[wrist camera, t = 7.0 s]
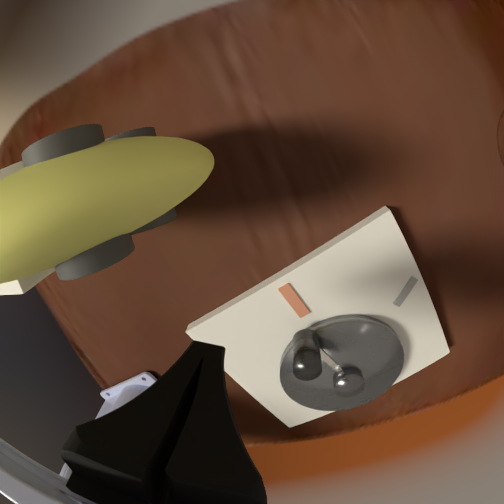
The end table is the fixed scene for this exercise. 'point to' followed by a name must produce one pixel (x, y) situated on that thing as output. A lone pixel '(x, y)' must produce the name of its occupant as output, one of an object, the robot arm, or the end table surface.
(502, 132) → the beer glass
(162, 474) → the robot arm
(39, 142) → the emoji
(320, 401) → the cam dial
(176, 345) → the end table surface
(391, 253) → the base plate
